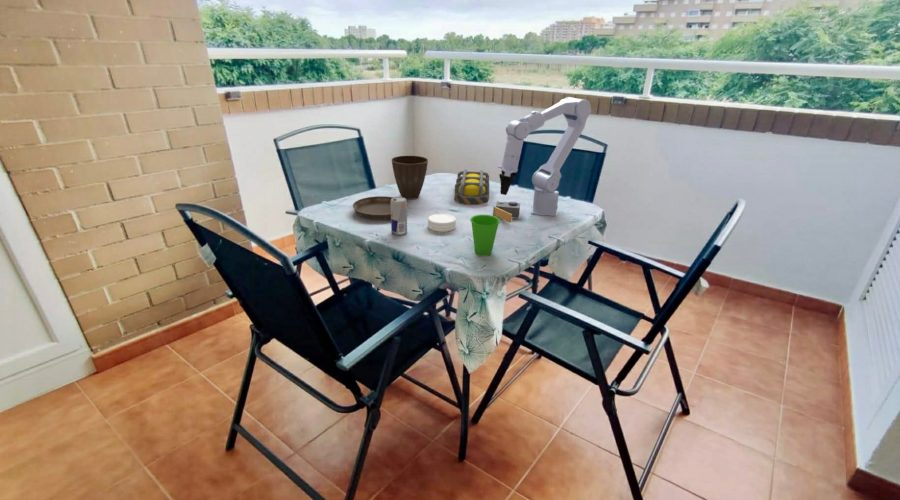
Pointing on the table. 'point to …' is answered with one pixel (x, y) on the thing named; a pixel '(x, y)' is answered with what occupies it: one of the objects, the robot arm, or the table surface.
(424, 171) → the plant pot
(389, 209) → the plant saucer
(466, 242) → the table surface
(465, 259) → the table surface
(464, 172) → the cage light
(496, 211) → the wooden matchstick
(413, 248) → the table surface
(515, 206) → the camera body
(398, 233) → the energy drink
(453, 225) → the white round disc
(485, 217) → the cup
